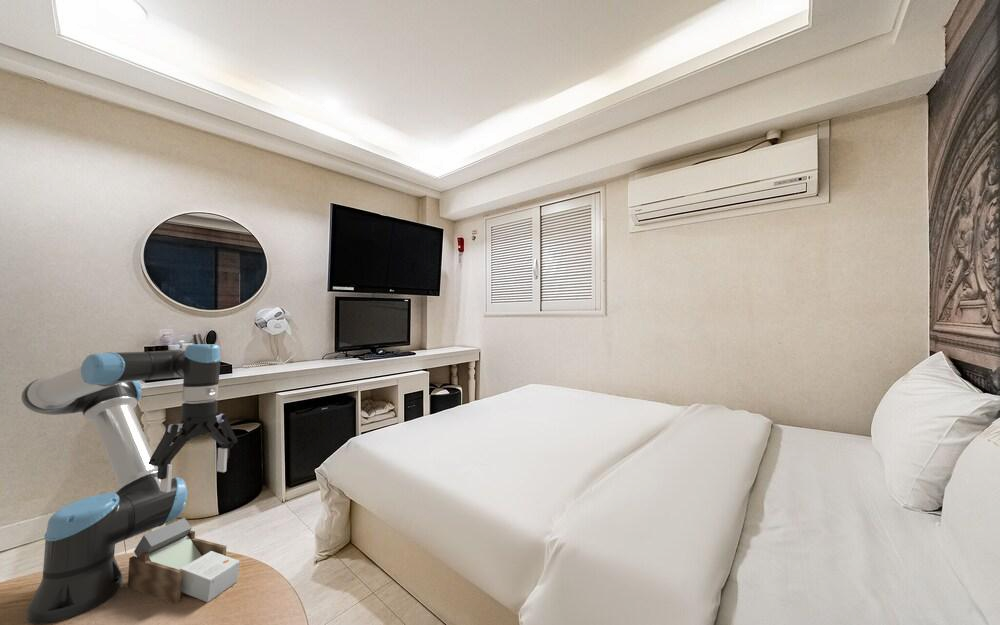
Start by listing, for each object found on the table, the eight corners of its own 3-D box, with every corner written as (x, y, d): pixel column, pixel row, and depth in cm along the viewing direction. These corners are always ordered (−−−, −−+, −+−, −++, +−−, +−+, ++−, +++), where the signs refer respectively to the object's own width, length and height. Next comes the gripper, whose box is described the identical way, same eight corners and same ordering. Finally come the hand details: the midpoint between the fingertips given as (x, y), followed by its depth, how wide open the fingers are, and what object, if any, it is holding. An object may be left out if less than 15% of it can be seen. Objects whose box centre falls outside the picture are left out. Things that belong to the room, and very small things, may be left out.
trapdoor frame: (127, 587, 93) (129, 550, 94) (178, 560, 104) (180, 527, 105) (176, 603, 88) (178, 564, 88) (224, 573, 99) (226, 539, 99)
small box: (176, 590, 91) (206, 603, 88) (179, 568, 91) (209, 580, 88) (209, 570, 98) (238, 582, 96) (211, 549, 99) (241, 560, 96)
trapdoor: (133, 551, 95) (143, 535, 94) (175, 532, 104) (184, 517, 103) (167, 605, 90) (178, 588, 89) (207, 580, 99) (218, 565, 98)
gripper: (153, 411, 84) (147, 503, 83) (254, 394, 108) (250, 465, 107) (133, 408, 87) (126, 498, 85) (235, 392, 110) (231, 462, 109)
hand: (195, 480), depth 96 cm, fingers open, 13 cm apart
